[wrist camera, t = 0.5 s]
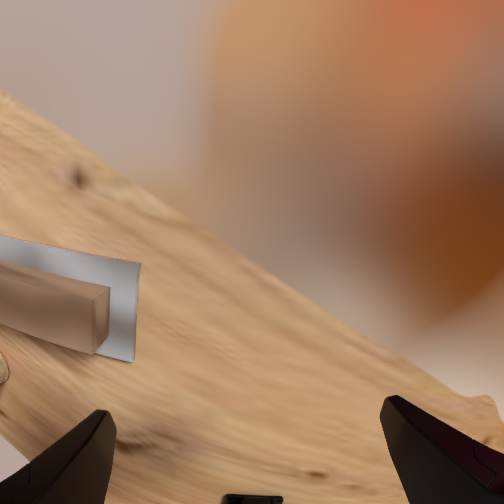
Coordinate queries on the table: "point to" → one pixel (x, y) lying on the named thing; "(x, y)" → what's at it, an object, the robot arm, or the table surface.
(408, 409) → the robot arm
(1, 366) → the spice jar
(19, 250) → the ridge
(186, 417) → the table surface
